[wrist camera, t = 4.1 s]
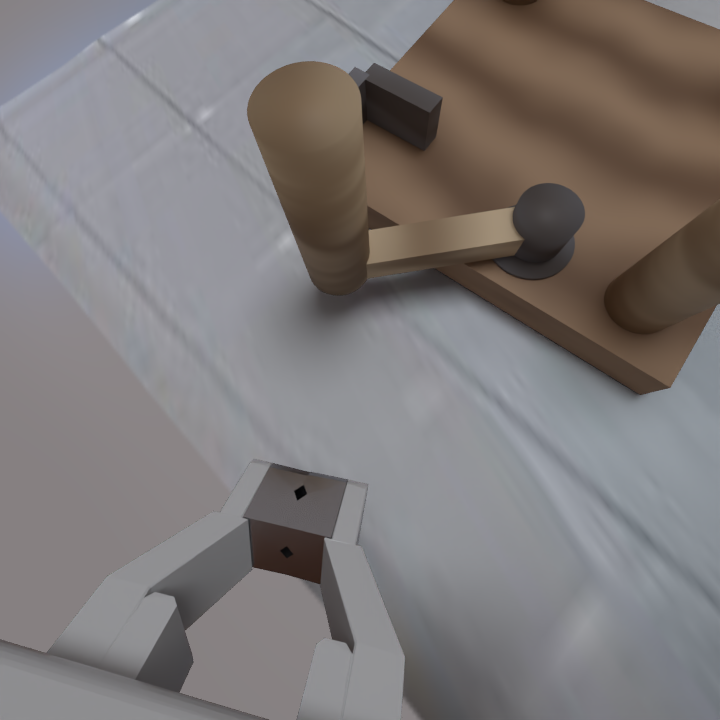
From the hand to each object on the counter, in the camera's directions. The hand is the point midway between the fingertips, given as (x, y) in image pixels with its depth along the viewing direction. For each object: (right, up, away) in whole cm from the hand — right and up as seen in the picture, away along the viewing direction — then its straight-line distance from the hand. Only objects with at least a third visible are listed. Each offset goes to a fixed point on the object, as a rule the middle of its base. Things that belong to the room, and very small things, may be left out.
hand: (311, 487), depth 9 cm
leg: (+5, +9, +9) cm, 14 cm away
